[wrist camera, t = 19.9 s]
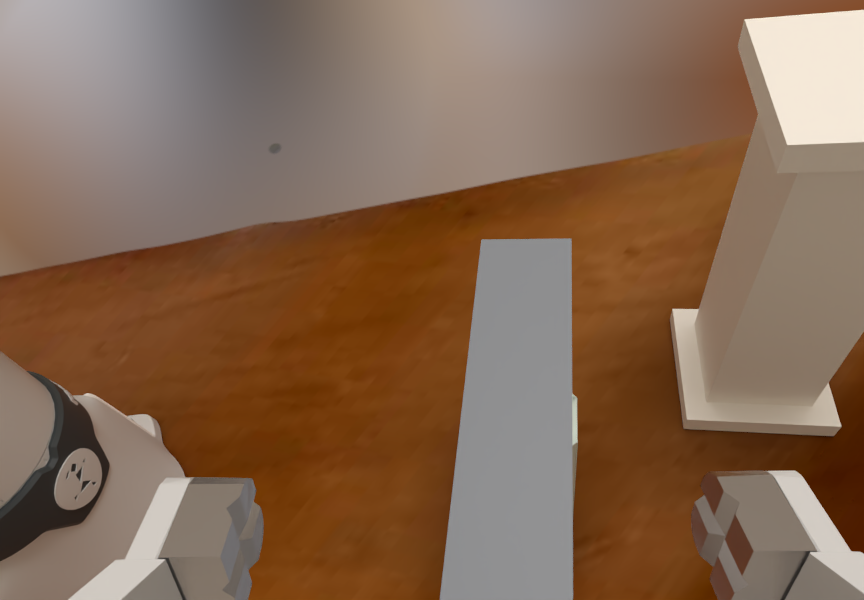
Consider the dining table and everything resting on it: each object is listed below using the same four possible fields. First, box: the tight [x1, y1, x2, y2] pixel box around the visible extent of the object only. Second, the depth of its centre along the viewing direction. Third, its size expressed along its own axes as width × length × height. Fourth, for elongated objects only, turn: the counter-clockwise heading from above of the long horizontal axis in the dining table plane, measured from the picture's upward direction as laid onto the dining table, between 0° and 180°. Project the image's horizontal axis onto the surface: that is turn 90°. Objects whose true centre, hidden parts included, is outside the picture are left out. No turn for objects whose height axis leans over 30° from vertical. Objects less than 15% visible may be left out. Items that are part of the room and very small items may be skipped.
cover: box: [440, 239, 573, 600], centre depth 29 cm, size 5×20×2 cm, turn 172°
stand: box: [670, 10, 864, 436], centre depth 37 cm, size 10×10×26 cm
